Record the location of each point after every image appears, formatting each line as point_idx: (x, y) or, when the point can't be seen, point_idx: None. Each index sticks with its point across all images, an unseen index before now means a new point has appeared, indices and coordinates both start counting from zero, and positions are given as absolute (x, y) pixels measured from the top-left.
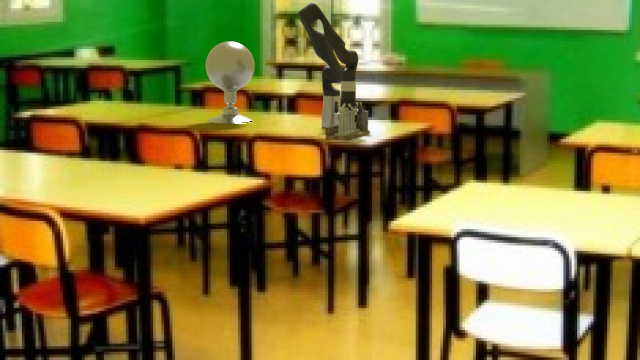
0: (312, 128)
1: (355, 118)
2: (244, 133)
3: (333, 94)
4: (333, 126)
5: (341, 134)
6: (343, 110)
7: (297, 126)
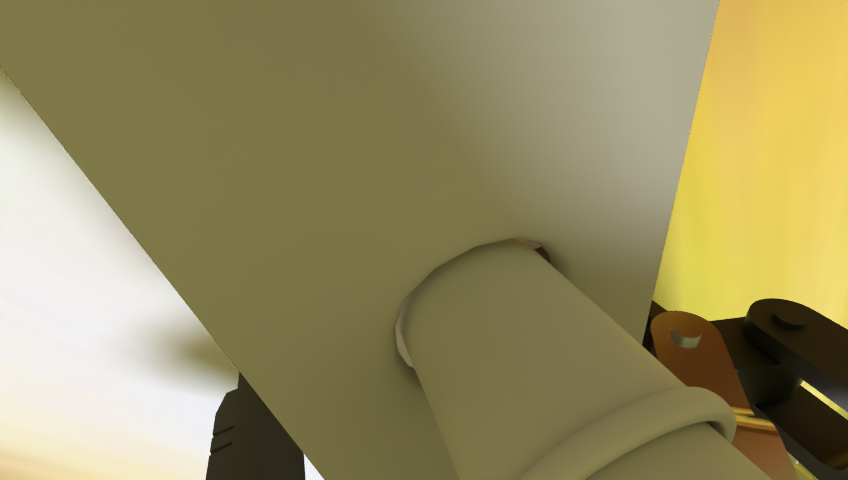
0: (728, 307)
1: (241, 427)
2: None
3: None
4: None
5: None
6: (565, 330)
7: (798, 300)
